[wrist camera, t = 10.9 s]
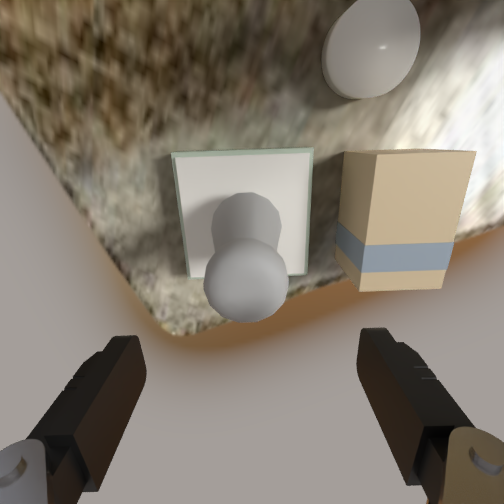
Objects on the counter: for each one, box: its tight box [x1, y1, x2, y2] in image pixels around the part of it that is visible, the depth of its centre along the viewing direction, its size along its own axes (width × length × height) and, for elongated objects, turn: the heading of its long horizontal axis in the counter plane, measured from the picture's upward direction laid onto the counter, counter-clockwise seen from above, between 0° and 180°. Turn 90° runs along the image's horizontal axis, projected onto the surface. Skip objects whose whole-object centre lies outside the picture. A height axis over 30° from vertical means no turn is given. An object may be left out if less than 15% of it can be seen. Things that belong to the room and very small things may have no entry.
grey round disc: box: [321, 0, 421, 99], centre depth 21 cm, size 6×6×3 cm
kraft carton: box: [335, 149, 477, 292], centre depth 25 cm, size 7×11×7 cm, turn 2°
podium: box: [171, 147, 314, 279], centre depth 26 cm, size 12×12×3 cm
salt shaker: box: [203, 192, 289, 322], centre depth 19 cm, size 6×6×13 cm
